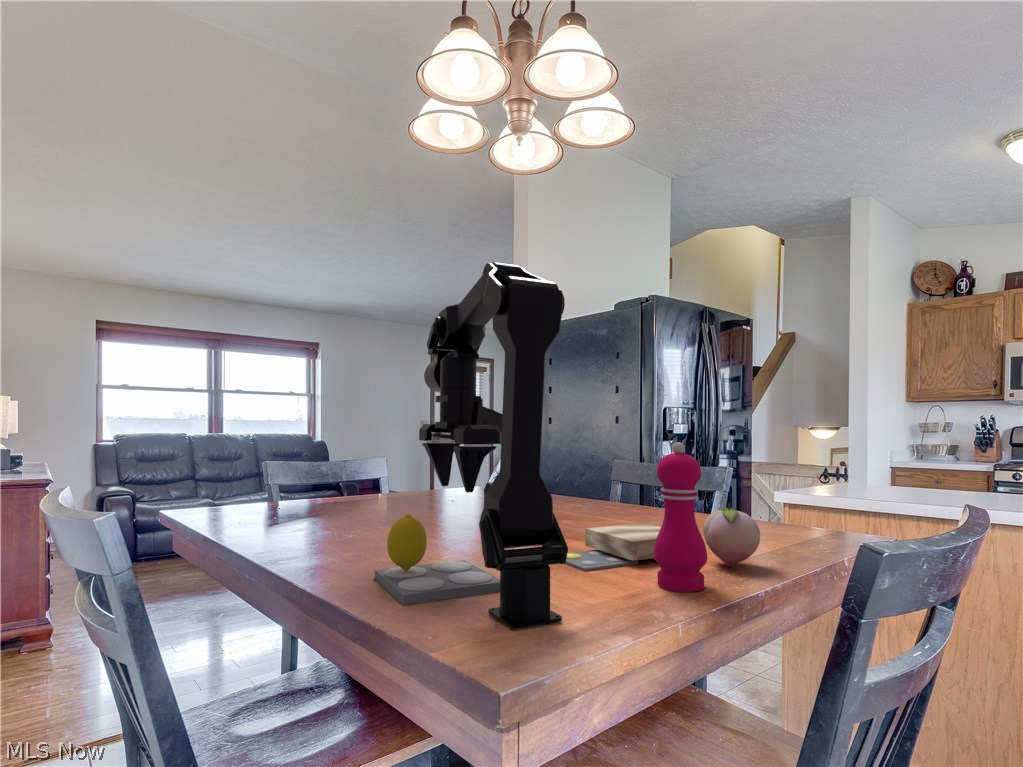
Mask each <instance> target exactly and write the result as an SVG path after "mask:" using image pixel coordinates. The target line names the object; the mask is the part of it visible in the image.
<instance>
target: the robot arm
mask: <svg viewBox="0 0 1023 767" xmlns="http://www.w3.org/2000/svg"><path fill="white" fill-rule="evenodd" d="M482 270H483V271H482V275H481V276H480V277H479V279H478V280H477V281H476V283H475V284H474V285H473V286H472V288H471V289H469V291H468V293H467V294H466V295H465V297H464V298H463V299H462V300H461V302H459V303H458V304H457V303H456V304H453V305H447V306H446V307H445V308H443V309H442V310H441V311H440V312H439V314H438V316H436V317H435V318H434V322H433V323H432V324H431V327H430V331H429V335H428V338H427V342H426V347H427V349H428V350H427V355H430V356H431V355H433V356H434V357H435V359H434V360H433V361H431V362H430V363H429V364H428V365H427V366H426V368H425V370H424V373H423V374H424V375H423V378H424V382H425V385H426V386H427V388H429V389H430V390H431V391H434V392H436V393H439V395H435V403H439V421H434V423H430V424H429V423H424V424H423V425H422V426H421V427H420V428H419V432H418V441H423V442H422V444H421V446H423V447H424V449H425V452H426V454H427V455H428V457H429V460H430V462H431V464H432V466H433V468H434V471H435V474H436V475H437V478H438V480H439V483H440V485H441V487H448V486H449V485H450V479H451V475H452V474H451V472H452V465H453V458H454V455H455V457H456V458H455V459H456V462H457V466H458V470H459V474H460V477H461V482H462V484H463V487H464V490H465V493H469V494H470V493H473V492H474V490H475V487H476V483H477V481H478V477H479V475H480V471H481V467H482V465H483V462H484V460H485V458H486V457H487V456H488V455H489V454H490V453H491V452H492V451H495V450H496V449H497V446H496V445H500V461H499V472H498V473H497V475H496V476H495V478H494V480H493V481H489V482H486V484H485V486H484V488H483V509H482V512H481V514H480V518H479V521H478V526H479V532H480V542H481V550H482V556H483V560H484V567H485V568H487V569H495V570H496V571H498V572H499V579H500V591H499V606H498V607H492V608H489V609H488V612H487V613H488V615H490V616H492V617H493V618H494V619H496V620H497V621H498V622H500V623H502V624H503V625H505V626H507V627H508V628H509V629H511V630H520V629H526V628H531V627H536V626H538V627H539V626H542V625H548V624H553V623H560V622H562V621H563V620H562V619H563V617H562V615H560V614H559V613H557V612H556V611H553V610H551V566H552V565H565V563H566V558H567V553H569V552H568V551H569V546H568V544H567V541H566V540H565V538H564V534H563V532H562V530H561V527H560V525H559V523H558V521H557V518H556V516H555V514H554V505H553V496H552V495H551V492H550V491H549V489H548V487H547V485H546V483H545V482H544V480H543V478H542V476H541V462H542V461H541V459H542V457H541V456H542V438H543V437H542V436H543V419H544V418H543V414H544V394H545V372H546V371H545V368H546V354H547V351H548V350H549V348H550V347H551V345H552V344H553V342H554V341H555V340H556V338H557V337H558V335H559V334H560V332H561V327H562V326H561V325H562V324H561V323H562V316H563V313H564V310H565V301H566V300H565V296H564V294H563V290H562V289H560V288H559V285H558V284H557V283H556V282H555V281H552V280H547V279H545V278H542V277H540V276H538V275H536V274H533V273H531V272H529V271H528V270H526V269H525V268H524V267H521V266H520V265H519V264H511V263H504V262H498V261H497V262H496V261H492V262H487V263H486V264H485V265H484V268H483V269H482ZM491 320H492V330H493V332H494V334H495V336H496V338H497V339H498V341H499V343H500V345H501V348H502V349H503V351H504V365H503V366H504V369H503V370H504V374H503V390H502V391H503V392H502V393H503V394H502V413H501V412H498V411H496V410H495V409H492V408H488V407H487V406H484V405H483V404H484V402H483V401H484V400H483V398H482V396H481V395H477V372H478V371H477V366H478V365H477V359H479V358H480V354H479V353H478V352H479V350H480V347H481V345H482V343H483V341H484V339H485V337H486V325H487V324H488V323H489V322H490V321H491ZM452 441H454V442H452ZM550 565H551V566H550Z"/></svg>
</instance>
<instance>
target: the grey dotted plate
mask: <svg viewBox="0 0 1023 767" xmlns="http://www.w3.org/2000/svg"><path fill="white" fill-rule="evenodd" d="M565 564H566V565H567V566H570V567H573V568H574V569H575V568H576V569H579V570H580V571H582V572H583V571H584V572H589V571H596V570H597V571H598V570H605V569H611V568H620V567H626V566H627V567H628V566H634V565H635V566H636V565H638V564H639V560H635V561H632V560H629V559H626V558H623V557H620V556H616V555H613V554H610V553H607V552H604V551H601V550H598V549H591V550H590V549H589V550H581V551H580V550H579V551H574V552H568V553H567V558H566V563H565ZM565 564H564V565H565Z"/></svg>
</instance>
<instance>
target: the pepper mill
mask: <svg viewBox="0 0 1023 767" xmlns="http://www.w3.org/2000/svg"><path fill="white" fill-rule="evenodd" d="M685 449H686V448H685V445H684V444H683V443H682V442H679V441H676V442H674V443H673V444H672V446H671V450H672V452H673V453H670V454H669V453H668V454H667V455H665V456H663V457H662V458H661V459H660V460H659V462H658V464H657V467H656V474H657V479H658V480H659V482H660V483H661V484H662V486H663V487H661V488H660V491H661V495H660V498H662V499H663V504H664V511H663V512H664V513H663V514H664V515H663V520H662V525H661V526H660V527H661V529H660V531H659V534H658V536H657V538H656V541H655V545H654V558H653V559H654V560H655V562H656V563H657V564H658V566H659V567H660V569H659V570H658V571H657V585H658V587H659V588H661V587H662V589H664V588H665V589H664V590H667V589H668V591H671V590H673V591H672V592H676V591H680V592H679V593H696V592H695V591H697V592H700V590H701V591H703V590H704V588H705V575H704V574H703V573H702V572H701V570H702V568H703V567H704V566H705V565H706V563H707V561H708V551H707V546H706V543H705V541H704V537H703V536H702V533H701V531H700V529H699V527H698V524H697V521H696V516H695V504H696V503H695V502H696V501H695V500H698V492H699V491H698V489H697V488H696V485H697V483H698V482H699V481H700V479H701V477H702V469H701V466H700V464H699V462H698V460H697V459H696V458H695V457H694V456H692V455H690V454H686V453H684V452H685Z"/></svg>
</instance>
